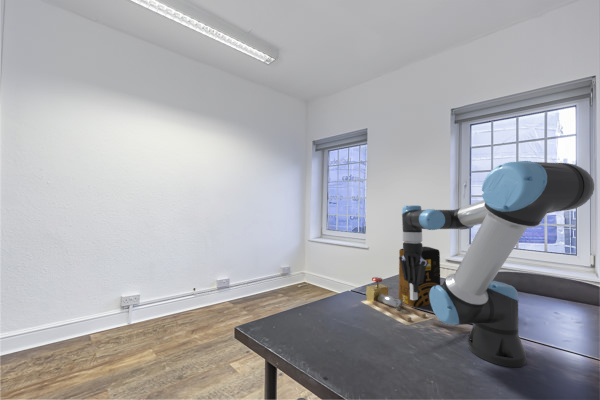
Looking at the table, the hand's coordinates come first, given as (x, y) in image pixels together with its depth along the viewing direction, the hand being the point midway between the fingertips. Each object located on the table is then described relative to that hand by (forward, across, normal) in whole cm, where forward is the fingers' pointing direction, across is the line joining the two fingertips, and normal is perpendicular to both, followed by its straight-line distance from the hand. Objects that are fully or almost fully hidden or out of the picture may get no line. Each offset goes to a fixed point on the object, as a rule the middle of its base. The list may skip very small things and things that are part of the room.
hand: (413, 299), depth 105 cm
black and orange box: (+9, +13, -19) cm, 25 cm away
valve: (+7, +23, 0) cm, 24 cm away
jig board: (+9, +11, 0) cm, 14 cm away
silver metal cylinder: (+7, +13, 0) cm, 15 cm away
